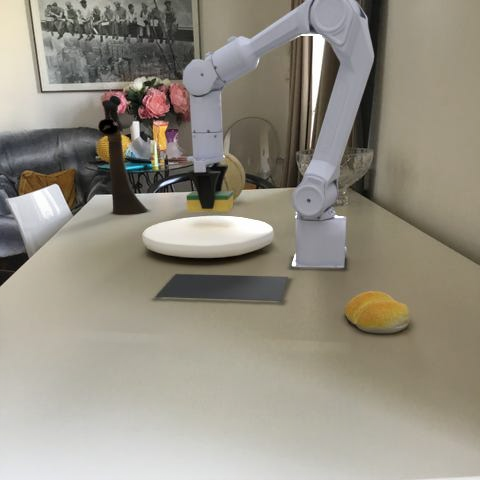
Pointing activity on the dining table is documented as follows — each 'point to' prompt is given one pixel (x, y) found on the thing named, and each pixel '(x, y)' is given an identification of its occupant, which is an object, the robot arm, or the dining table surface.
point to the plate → (208, 236)
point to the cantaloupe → (233, 175)
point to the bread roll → (377, 313)
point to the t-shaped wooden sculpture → (118, 158)
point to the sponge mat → (225, 287)
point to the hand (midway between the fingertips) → (210, 205)
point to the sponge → (220, 204)
